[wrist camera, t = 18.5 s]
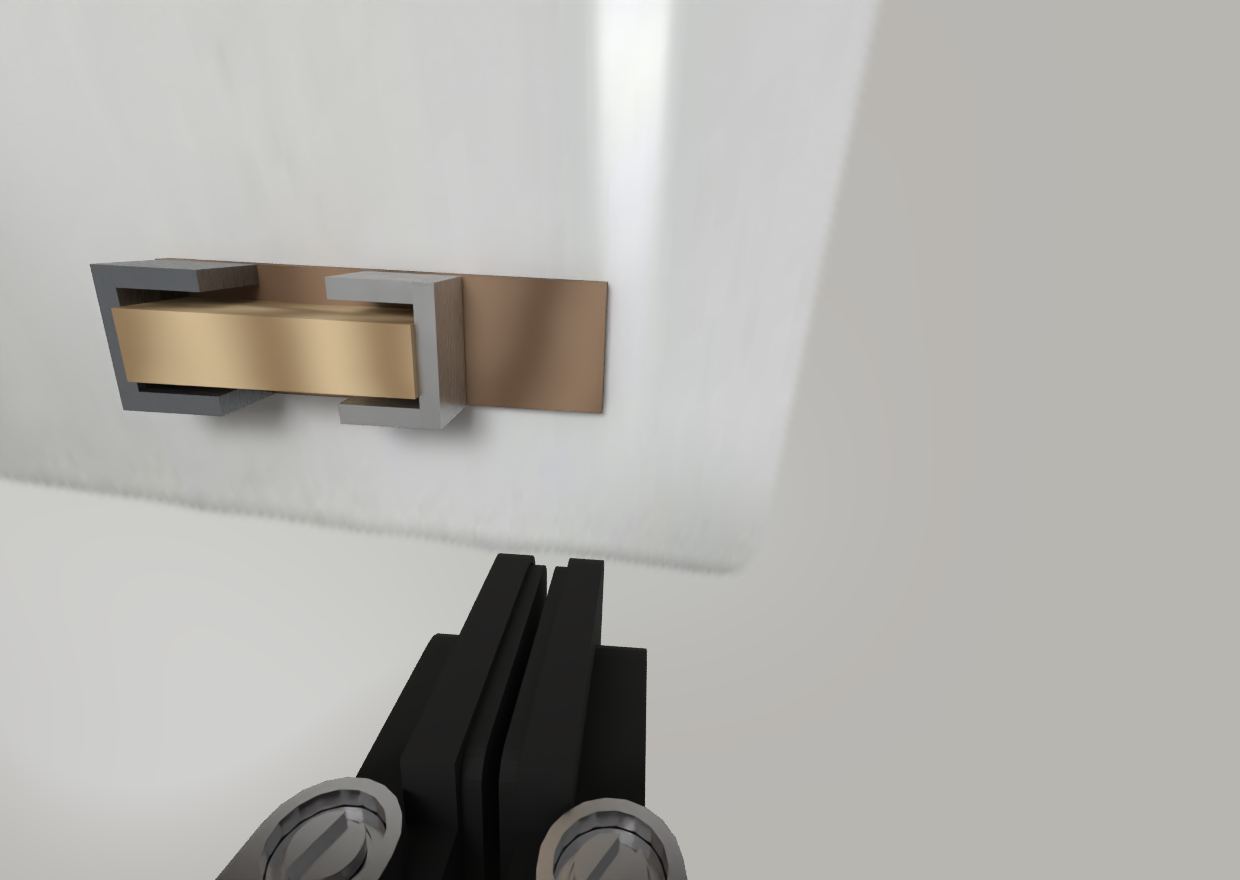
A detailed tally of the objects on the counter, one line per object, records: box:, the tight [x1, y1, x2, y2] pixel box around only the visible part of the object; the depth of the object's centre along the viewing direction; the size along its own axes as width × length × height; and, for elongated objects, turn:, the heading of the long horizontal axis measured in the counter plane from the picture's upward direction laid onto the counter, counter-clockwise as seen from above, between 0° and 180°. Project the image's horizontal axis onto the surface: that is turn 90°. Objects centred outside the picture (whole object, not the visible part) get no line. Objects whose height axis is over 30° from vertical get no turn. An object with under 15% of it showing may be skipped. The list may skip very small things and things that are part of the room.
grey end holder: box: [90, 260, 275, 416], centre depth 31 cm, size 5×7×4 cm
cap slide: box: [325, 271, 466, 430], centre depth 31 cm, size 5×7×4 cm
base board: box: [155, 258, 608, 413], centre depth 33 cm, size 24×7×1 cm, turn 87°
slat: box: [111, 297, 419, 399], centre depth 31 cm, size 14×4×5 cm, turn 87°
